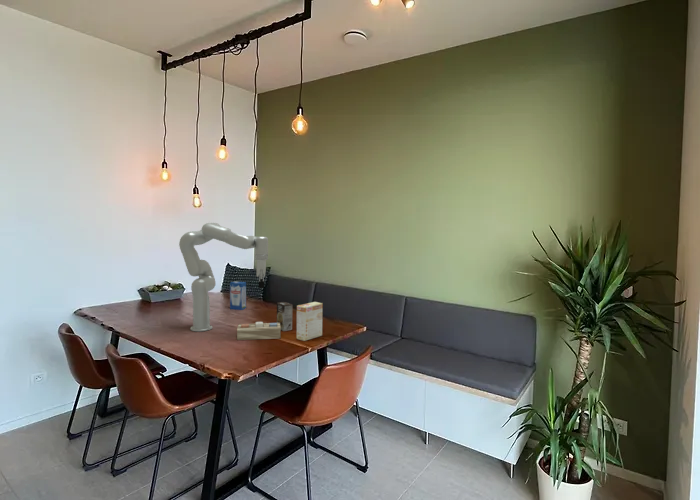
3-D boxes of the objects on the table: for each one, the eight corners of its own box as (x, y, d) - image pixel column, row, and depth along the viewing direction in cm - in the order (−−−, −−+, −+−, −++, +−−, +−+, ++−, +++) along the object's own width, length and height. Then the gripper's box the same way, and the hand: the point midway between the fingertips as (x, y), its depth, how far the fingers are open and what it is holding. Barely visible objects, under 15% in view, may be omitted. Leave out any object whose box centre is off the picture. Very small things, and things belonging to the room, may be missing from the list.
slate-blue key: (269, 329, 238) (269, 323, 238) (276, 329, 239) (276, 322, 239) (269, 331, 234) (269, 324, 234) (276, 331, 235) (276, 324, 235)
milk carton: (229, 309, 302) (229, 282, 301) (234, 307, 308) (234, 281, 307) (241, 310, 300) (241, 283, 298) (246, 308, 306) (246, 282, 304)
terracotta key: (241, 330, 235) (241, 323, 235) (248, 330, 236) (248, 323, 235) (241, 332, 231) (241, 325, 231) (248, 332, 232) (248, 325, 231)
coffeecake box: (314, 333, 243) (314, 301, 242) (322, 335, 239) (323, 303, 237) (295, 338, 232) (296, 305, 230) (304, 341, 227) (304, 307, 226)
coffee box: (276, 328, 253) (276, 302, 252) (285, 326, 257) (285, 301, 256) (283, 331, 246) (283, 305, 245) (292, 329, 250) (292, 304, 249)
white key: (255, 328, 236) (255, 321, 236) (262, 328, 237) (262, 321, 237) (255, 330, 233) (255, 323, 232) (262, 330, 233) (262, 323, 233)
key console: (238, 334, 239) (238, 324, 238) (279, 332, 243) (279, 322, 243) (237, 340, 227) (237, 329, 226) (280, 338, 232) (280, 328, 231)
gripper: (255, 256, 246) (255, 285, 248) (254, 258, 232) (254, 290, 233) (267, 256, 248) (267, 285, 249) (268, 258, 233) (267, 290, 235)
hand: (261, 287), depth 241 cm, fingers closed
